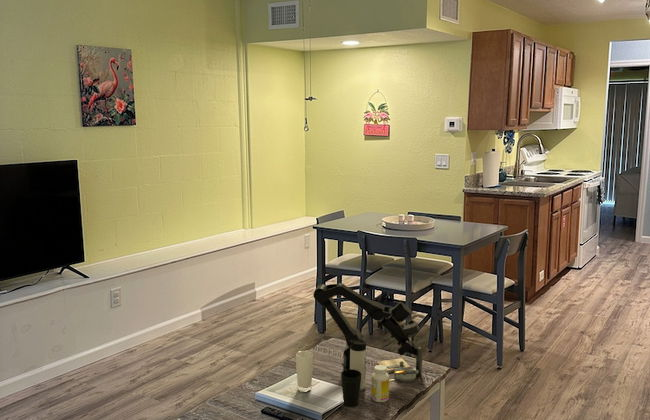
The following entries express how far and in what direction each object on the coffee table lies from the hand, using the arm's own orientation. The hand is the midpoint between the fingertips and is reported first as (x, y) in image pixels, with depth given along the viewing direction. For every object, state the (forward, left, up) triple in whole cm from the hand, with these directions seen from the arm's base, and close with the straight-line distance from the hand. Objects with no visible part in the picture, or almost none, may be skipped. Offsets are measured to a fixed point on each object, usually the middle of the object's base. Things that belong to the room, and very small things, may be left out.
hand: (419, 355), depth 249 cm
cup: (-37, -16, -8) cm, 41 cm away
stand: (-8, +8, -8) cm, 14 cm away
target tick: (-14, -3, -8) cm, 16 cm away
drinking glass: (-50, 0, -8) cm, 51 cm away
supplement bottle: (-25, -16, -8) cm, 30 cm away
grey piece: (-6, -3, -7) cm, 10 cm away
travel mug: (-30, -5, -8) cm, 31 cm away
